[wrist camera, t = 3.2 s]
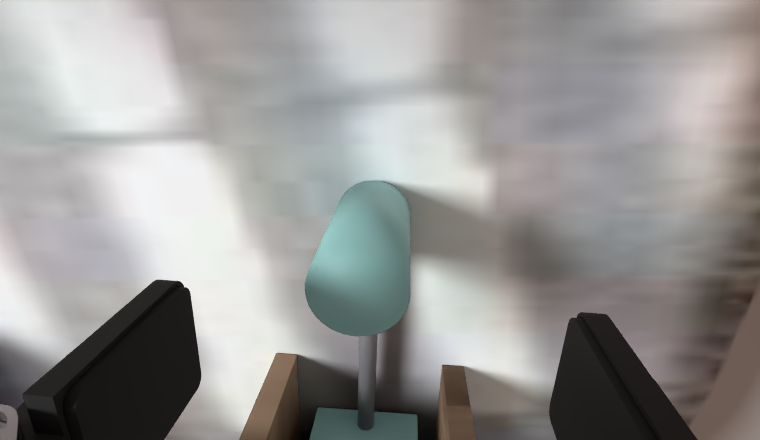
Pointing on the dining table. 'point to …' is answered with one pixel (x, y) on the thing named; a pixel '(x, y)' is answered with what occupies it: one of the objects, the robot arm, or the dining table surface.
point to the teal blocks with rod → (363, 300)
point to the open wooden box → (281, 405)
